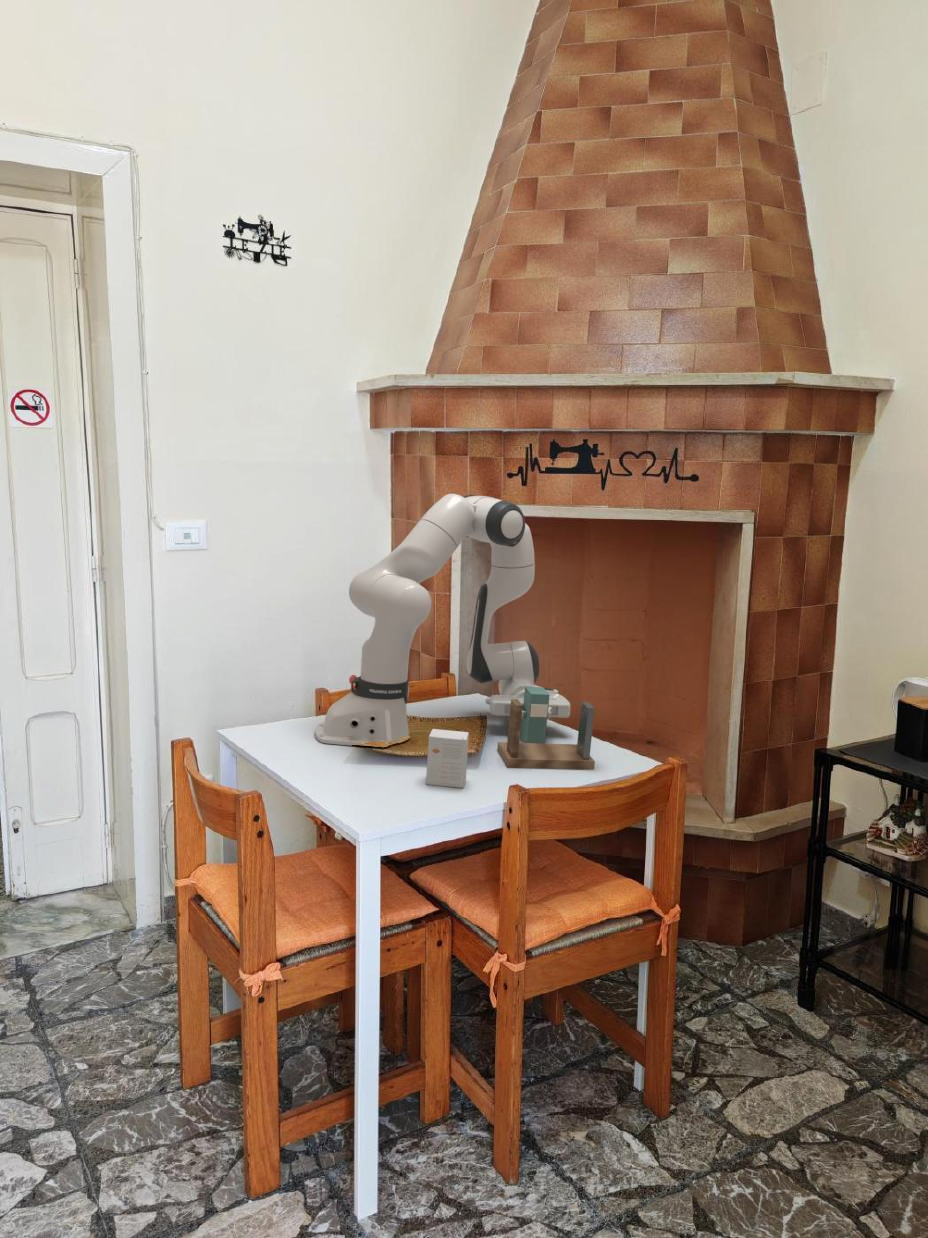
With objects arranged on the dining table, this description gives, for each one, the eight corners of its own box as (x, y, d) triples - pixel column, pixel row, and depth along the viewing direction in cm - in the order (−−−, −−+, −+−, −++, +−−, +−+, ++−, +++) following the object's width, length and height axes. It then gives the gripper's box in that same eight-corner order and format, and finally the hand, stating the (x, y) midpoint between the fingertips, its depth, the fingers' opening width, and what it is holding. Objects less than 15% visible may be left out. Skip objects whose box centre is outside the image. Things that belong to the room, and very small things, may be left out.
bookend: (582, 759, 208) (588, 708, 206) (576, 751, 214) (581, 701, 212) (589, 759, 209) (594, 708, 206) (582, 751, 214) (587, 701, 212)
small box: (466, 779, 195) (470, 732, 193) (463, 789, 190) (467, 739, 188) (428, 775, 196) (432, 728, 194) (425, 784, 190) (428, 735, 189)
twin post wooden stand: (507, 767, 205) (512, 706, 203) (497, 750, 217) (502, 692, 214) (593, 769, 208) (600, 709, 206) (579, 752, 220) (585, 695, 217)
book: (526, 746, 221) (531, 694, 219) (520, 737, 228) (524, 686, 226) (544, 747, 222) (549, 695, 219) (538, 738, 229) (542, 687, 226)
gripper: (484, 686, 234) (494, 701, 221) (563, 689, 237) (577, 704, 224) (482, 710, 235) (492, 726, 222) (560, 713, 238) (574, 729, 225)
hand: (535, 715), depth 223 cm, fingers closed on book, 4 cm apart
